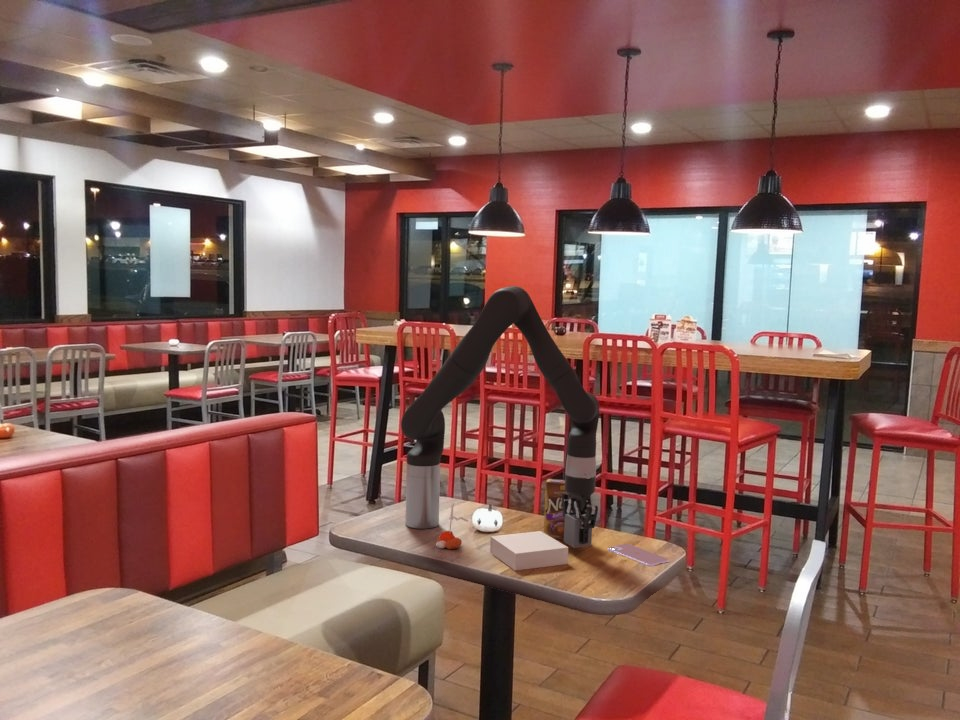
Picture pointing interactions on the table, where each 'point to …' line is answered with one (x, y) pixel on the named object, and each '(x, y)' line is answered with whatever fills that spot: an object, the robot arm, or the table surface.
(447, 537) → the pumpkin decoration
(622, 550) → the mobile phone
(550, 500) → the candy box
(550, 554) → the plinth
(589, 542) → the charcoal block
